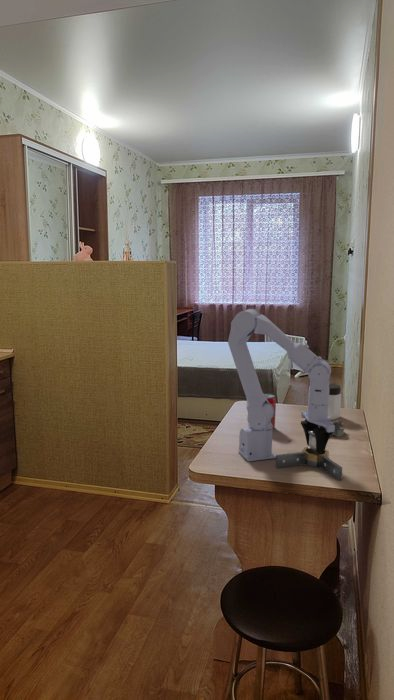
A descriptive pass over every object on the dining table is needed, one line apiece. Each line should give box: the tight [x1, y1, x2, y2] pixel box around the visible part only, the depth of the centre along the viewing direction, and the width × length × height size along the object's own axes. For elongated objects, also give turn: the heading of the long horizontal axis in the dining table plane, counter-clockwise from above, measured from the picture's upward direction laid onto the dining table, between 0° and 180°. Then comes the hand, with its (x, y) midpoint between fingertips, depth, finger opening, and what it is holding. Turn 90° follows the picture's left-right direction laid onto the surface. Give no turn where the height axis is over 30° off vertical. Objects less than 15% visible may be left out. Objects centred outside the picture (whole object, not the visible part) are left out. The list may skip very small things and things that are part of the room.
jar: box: [328, 383, 342, 421], centre depth 189 cm, size 9×8×12 cm
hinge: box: [275, 446, 343, 481], centre depth 140 cm, size 16×16×4 cm
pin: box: [307, 428, 322, 455], centre depth 145 cm, size 5×5×7 cm
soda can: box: [263, 393, 277, 430], centre depth 175 cm, size 6×6×12 cm
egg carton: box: [318, 419, 345, 438], centre depth 172 cm, size 11×8×4 cm
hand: (315, 448), depth 145 cm, fingers closed on pin, 5 cm apart
